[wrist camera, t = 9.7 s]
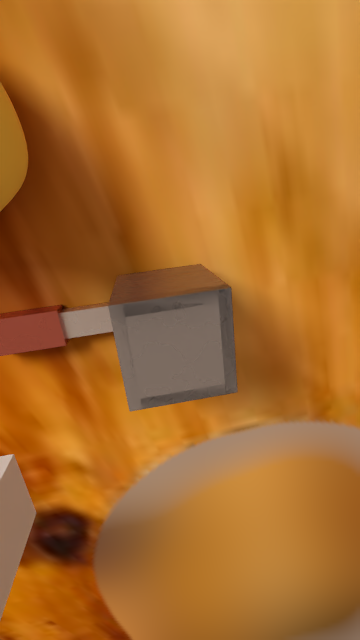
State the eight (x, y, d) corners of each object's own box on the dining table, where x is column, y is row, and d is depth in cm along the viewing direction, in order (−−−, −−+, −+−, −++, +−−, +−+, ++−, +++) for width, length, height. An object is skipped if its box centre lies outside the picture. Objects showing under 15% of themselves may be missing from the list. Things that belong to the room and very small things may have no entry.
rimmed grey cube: (117, 275, 26) (108, 305, 17) (200, 263, 26) (231, 287, 18) (131, 351, 28) (129, 411, 20) (207, 339, 29) (237, 392, 20)
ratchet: (-16, 294, 26) (-62, 318, 20) (191, 265, 28) (207, 279, 22) (9, 366, 28) (-26, 408, 22) (199, 336, 30) (215, 367, 24)
